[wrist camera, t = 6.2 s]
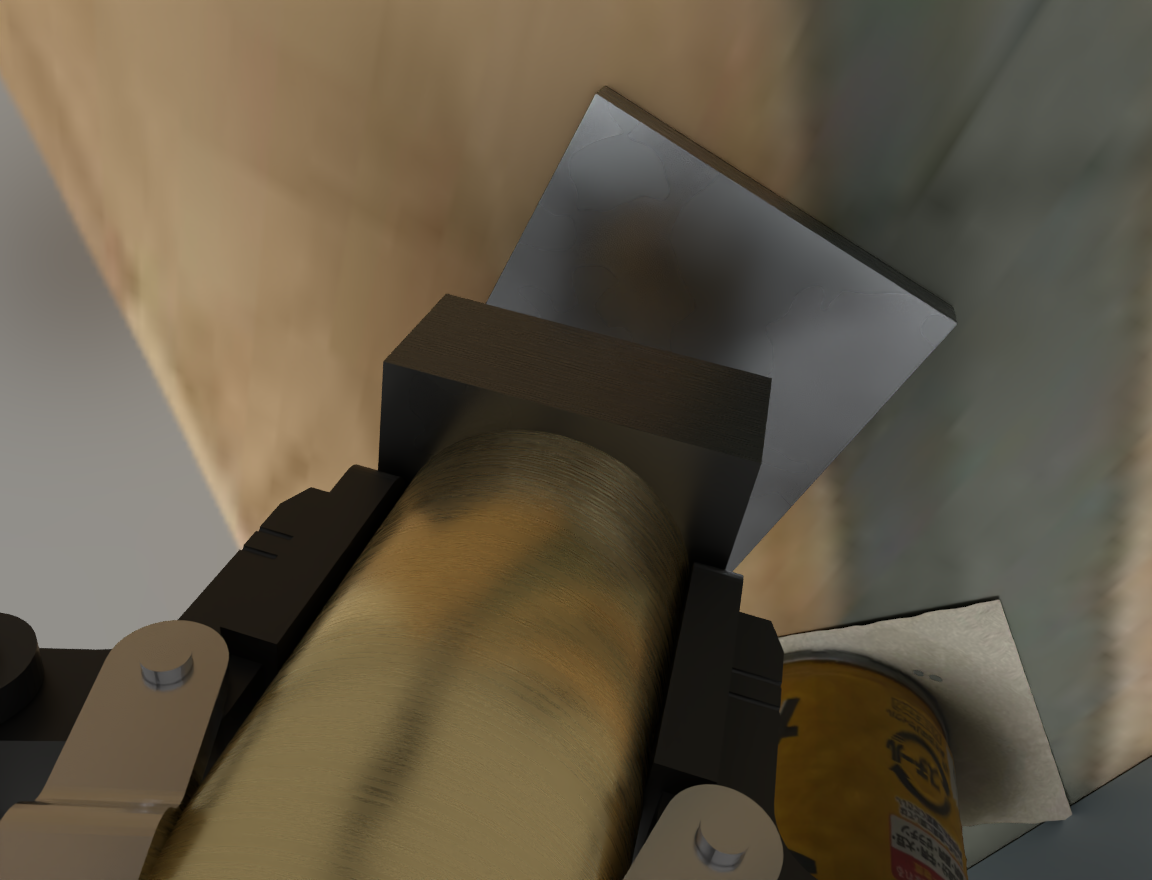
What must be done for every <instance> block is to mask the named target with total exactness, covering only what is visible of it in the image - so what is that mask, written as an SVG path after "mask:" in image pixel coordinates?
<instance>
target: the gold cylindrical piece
mask: <svg viewBox="0 0 1152 880" xmlns="http://www.w3.org/2000/svg"><path fill="white" fill-rule="evenodd" d="M771 384H772V378H769V377H765V376H761V375H758V374H754V373H750V372H746V371H742V370H738V369H734V368H731V367H727V366H723V365H719V364H715V363H711V362H707V361H704V360H700V359H696V358H692V357H688V356H684V355H681V354H677V353H673V352H669V351H665V350H661V349H657V348H654V347H650V346H646V345H642V344H638V343H634V342H630V341H627V340H623V339H619V338H615V337H611V336H607V335H603V334H600V333H596V332H592V331H588V330H584V329H580V328H576V327H573V326H569V325H565V324H561V323H557V322H553V321H550V320H546V319H542V318H538V317H534V316H530V315H526V314H523V313H519V312H515V311H511V310H507V309H503V308H499V307H496V306H492V305H488V304H484V303H480V302H476V301H472V300H469V299H465V298H461V297H457V296H453V295H449V294H445V296H444V297H443V298H442V299H441V300H440V301H439V302H438V303H437V304H436V305H435V306H434V307H433V309H432V310H431V311H430V312H429V313H428V314H427V315H426V316H425V317H424V318H423V319H422V320H421V321H420V323H419V324H418V325H417V326H416V327H415V328H414V329H413V330H412V331H411V332H410V333H409V334H408V336H407V337H406V338H405V339H404V340H403V341H402V342H401V343H400V344H399V345H398V346H397V347H396V348H395V350H394V351H393V352H392V353H391V354H390V355H389V356H388V357H387V358H386V359H385V360H384V361H383V382H382V402H381V422H380V442H379V462H378V471H381V472H385V473H389V474H392V475H396V476H399V477H402V478H403V479H404V481H405V491H404V493H403V494H402V495H401V497H400V498H399V500H398V501H397V503H396V504H395V505H394V507H393V508H392V510H391V511H390V513H389V514H388V516H387V517H386V518H385V520H384V521H383V523H382V524H381V526H380V527H379V528H378V530H377V531H376V533H375V534H374V536H373V537H372V538H371V540H370V541H369V543H368V544H367V546H366V547H365V549H364V550H363V551H362V553H361V554H360V556H359V557H358V559H357V560H356V561H355V563H354V564H353V566H352V567H351V569H350V570H349V571H348V573H347V574H346V576H345V577H344V579H343V580H342V582H341V583H340V584H339V586H338V587H337V589H336V590H335V592H334V593H333V594H332V596H331V597H330V599H329V600H328V602H327V603H326V604H325V606H324V607H323V609H322V610H321V612H320V613H319V615H318V616H317V617H316V619H315V620H314V622H313V623H312V625H311V626H310V627H309V629H308V630H307V632H306V633H305V635H304V636H303V637H302V639H301V640H300V642H299V643H298V645H297V646H296V648H295V649H294V650H293V652H292V653H291V655H290V656H289V658H288V659H287V660H286V662H285V663H284V665H283V666H282V668H281V669H280V670H279V672H278V673H277V675H276V676H275V678H274V679H273V681H272V682H271V683H270V685H269V686H268V688H267V689H266V691H265V692H264V693H263V695H262V696H261V698H260V699H259V701H258V702H257V703H256V705H255V706H254V708H253V709H252V711H251V712H250V714H249V715H248V716H247V718H246V719H245V721H244V722H243V724H242V725H241V726H240V728H239V729H238V731H237V732H236V734H235V735H234V736H233V738H232V739H231V741H230V742H229V744H228V745H227V747H226V748H225V749H224V751H223V752H222V754H221V755H220V757H219V758H218V759H217V761H216V762H215V764H214V765H213V767H212V768H211V769H210V771H209V772H208V774H207V775H206V777H205V778H204V780H203V781H202V782H201V784H200V785H199V787H198V788H197V790H196V791H195V792H194V794H193V796H192V797H191V799H190V800H189V802H188V804H187V805H186V807H185V808H184V810H183V812H182V813H181V815H180V816H179V818H178V820H177V822H176V824H175V826H174V828H173V830H172V832H171V834H170V836H169V837H168V839H167V841H166V843H165V845H164V847H163V849H162V851H161V853H160V855H159V857H158V859H157V861H156V863H155V865H154V867H153V869H152V871H151V874H150V876H149V878H148V880H623V879H624V877H625V875H626V874H627V872H628V870H629V869H630V867H631V864H632V859H633V854H634V850H635V845H636V840H637V835H638V830H639V825H640V820H641V815H642V811H643V793H644V788H645V783H646V778H647V774H648V769H649V764H650V759H651V754H652V750H653V745H654V740H655V735H656V730H657V726H658V721H659V716H660V711H661V706H662V702H663V697H664V692H665V687H666V682H667V678H668V673H669V668H670V663H671V658H672V654H673V649H674V644H675V639H676V634H677V630H678V625H679V620H680V615H681V610H682V606H683V601H684V596H685V591H686V586H687V582H688V577H689V573H690V570H691V567H692V564H693V562H694V561H695V562H699V563H702V564H706V565H709V566H713V567H716V568H720V569H723V570H725V569H726V567H727V564H728V561H729V558H730V555H731V552H732V549H733V546H734V543H735V540H736V537H737V534H738V531H739V528H740V525H741V523H742V520H743V517H744V514H745V511H746V508H747V505H748V502H749V499H750V496H751V493H752V490H753V487H754V484H755V481H756V478H757V476H758V473H759V470H760V467H761V464H762V456H763V448H764V440H765V432H766V424H767V416H768V408H769V400H770V392H771Z"/></svg>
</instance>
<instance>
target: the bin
mask: <svg viewBox="0 0 1152 880" xmlns="http://www.w3.org/2000/svg"><path fill="white" fill-rule="evenodd" d="M1070 809H1071V812H1072V815H1071V816H1070V817H1068V818H1067V819H1065V820H1056V821H1046V822H1045V823H1043V824H1041V825H1040V826H1038V827H1037V828H1035V829H1033V830H1032V831H1030V832H1028V833H1027V834H1025V835H1024V836H1022V837H1020V838H1019V839H1017V840H1015V841H1014V842H1012V843H1011V844H1009V845H1007V846H1006V847H1004V848H1002V849H1001V850H999V851H998V852H996V853H994V854H993V855H991V856H989V857H988V858H986V859H985V860H983V861H981V862H980V863H978V864H976V865H975V866H973V867H972V868H970V869H968V870H967V875H968V880H1152V757H1150V758H1149V759H1147V760H1145V761H1144V762H1142V763H1140V764H1139V765H1137V766H1136V767H1134V768H1132V769H1131V770H1129V771H1127V772H1126V773H1124V774H1123V775H1121V776H1119V777H1118V778H1116V779H1114V780H1113V781H1111V782H1110V783H1108V784H1106V785H1105V786H1103V787H1102V788H1100V789H1098V790H1097V791H1095V792H1093V793H1092V794H1090V795H1089V796H1087V797H1085V798H1084V799H1082V800H1080V801H1079V802H1077V803H1076V804H1074V805H1072V806H1071V807H1070Z"/></svg>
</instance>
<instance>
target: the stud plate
mask: <svg viewBox="0 0 1152 880" xmlns="http://www.w3.org/2000/svg"><path fill="white" fill-rule="evenodd" d="M486 304H488V305H492V306H496V307H499V308H503V309H507V310H511V311H515V312H519V313H523V314H526V315H530V316H534V317H538V318H542V319H546V320H550V321H553V322H557V323H561V324H565V325H569V326H573V327H576V328H580V329H584V330H588V331H592V332H596V333H600V334H603V335H607V336H611V337H615V338H619V339H623V340H627V341H630V342H634V343H638V344H642V345H646V346H650V347H654V348H657V349H661V350H665V351H669V352H673V353H677V354H681V355H684V356H688V357H692V358H696V359H700V360H704V361H707V362H711V363H715V364H719V365H723V366H727V367H731V368H734V369H738V370H742V371H746V372H750V373H754V374H758V375H761V376H765V377H769V378H772V384H771V392H770V400H769V408H768V416H767V424H766V432H765V440H764V448H763V456H762V464H761V467H760V470H759V473H758V476H757V478H756V481H755V484H754V487H753V490H752V493H751V496H750V499H749V502H748V505H747V508H746V511H745V514H744V517H743V520H742V523H741V525H740V528H739V531H738V534H737V537H736V540H735V543H734V546H733V549H732V552H731V555H730V558H729V561H728V564H727V567H726V569H725V570H727V571H730V572H732V571H733V570H734V569H735V568H736V567H737V566H738V565H739V564H740V563H741V562H742V560H743V559H744V558H745V557H746V556H747V555H748V554H749V553H750V552H751V551H752V549H753V548H754V547H755V546H756V545H757V544H758V543H759V542H760V541H761V539H762V538H763V537H764V536H765V535H766V534H767V533H768V532H769V531H770V530H771V528H772V527H773V526H774V525H775V524H776V523H777V522H778V521H779V520H780V519H781V517H782V516H783V515H784V514H785V513H786V512H787V511H788V510H789V509H790V508H791V506H792V505H793V504H794V503H795V502H796V501H797V500H798V499H799V498H800V497H801V495H802V494H803V493H804V492H805V491H806V490H807V489H808V488H809V487H810V486H811V484H812V483H813V482H814V481H815V480H816V479H817V478H818V477H819V476H820V475H821V473H822V472H823V471H824V470H825V469H826V468H827V467H828V466H829V465H830V463H831V462H832V461H833V460H834V459H835V458H836V457H837V456H838V455H839V454H840V452H841V451H842V450H843V449H844V448H845V447H846V446H847V445H848V444H849V443H850V441H851V440H852V439H853V438H854V437H855V436H856V435H857V434H858V433H859V432H860V430H861V429H862V428H863V427H864V426H865V425H866V424H867V423H868V422H869V421H870V419H871V418H872V417H873V416H874V415H875V414H876V413H877V412H878V411H879V410H880V408H881V407H882V406H883V405H884V404H885V403H886V402H887V401H888V400H889V399H890V397H891V396H892V395H893V394H894V393H895V392H896V391H897V390H898V389H899V387H900V386H901V385H902V384H903V383H904V382H905V381H906V380H907V379H908V378H909V376H910V375H911V374H912V373H913V372H914V371H915V370H916V369H917V368H918V367H919V365H920V364H921V363H922V362H923V361H924V360H925V359H926V358H927V357H928V356H929V354H930V353H931V352H932V351H933V350H934V349H935V348H936V347H937V346H938V345H939V343H940V342H941V341H942V340H943V339H944V338H945V337H946V336H947V335H948V334H949V332H950V331H951V330H952V329H953V328H954V327H955V326H956V325H957V320H956V316H955V312H954V308H953V307H952V306H950V305H949V304H947V303H946V302H944V301H942V300H941V299H939V298H938V297H936V296H935V295H933V294H931V293H930V292H928V291H927V290H925V289H924V288H922V287H920V286H919V285H917V284H916V283H914V282H913V281H911V280H909V279H908V278H906V277H905V276H903V275H902V274H900V273H898V272H897V271H895V270H894V269H892V268H891V267H889V266H887V265H886V264H884V263H883V262H881V261H880V260H878V259H876V258H875V257H873V256H872V255H870V254H869V253H867V252H865V251H864V250H862V249H861V248H859V247H858V246H856V245H854V244H853V243H851V242H850V241H848V240H847V239H845V238H844V237H842V236H840V235H839V234H837V233H836V232H834V231H833V230H831V229H829V228H828V227H826V226H825V225H823V224H822V223H820V222H818V221H817V220H815V219H814V218H812V217H811V216H809V215H807V214H806V213H804V212H803V211H801V210H800V209H798V208H796V207H795V206H793V205H792V204H790V203H789V202H787V201H785V200H784V199H782V198H781V197H779V196H778V195H776V194H774V193H773V192H771V191H770V190H768V189H767V188H765V187H763V186H762V185H760V184H759V183H757V182H756V181H754V180H752V179H751V178H749V177H748V176H746V175H745V174H743V173H742V172H740V171H738V170H737V169H735V168H734V167H732V166H731V165H729V164H727V163H726V162H724V161H723V160H721V159H720V158H718V157H716V156H715V155H713V154H712V153H710V152H709V151H707V150H705V149H704V148H702V147H701V146H699V145H698V144H696V143H694V142H693V141H691V140H690V139H688V138H687V137H685V136H683V135H682V134H680V133H679V132H677V131H676V130H674V129H672V128H671V127H669V126H668V125H666V124H665V123H663V122H661V121H660V120H658V119H657V118H655V117H654V116H652V115H650V114H649V113H647V112H646V111H644V110H643V109H641V108H640V107H638V106H636V105H635V104H633V103H632V102H630V101H629V100H627V99H625V98H624V97H622V96H621V95H619V94H618V93H616V92H614V91H613V90H611V89H610V88H608V87H607V86H605V87H603V88H602V89H601V90H600V91H598V92H597V93H596V94H595V96H594V98H593V100H592V102H591V104H590V106H589V108H588V110H587V112H586V114H585V115H584V117H583V119H582V121H581V123H580V125H579V127H578V129H577V131H576V133H575V135H574V136H573V138H572V140H571V142H570V144H569V146H568V148H567V150H566V152H565V154H564V156H563V157H562V159H561V161H560V163H559V165H558V167H557V169H556V171H555V173H554V175H553V177H552V178H551V180H550V182H549V184H548V186H547V188H546V190H545V192H544V194H543V196H542V198H541V199H540V201H539V203H538V205H537V207H536V209H535V211H534V213H533V215H532V217H531V219H530V221H529V222H528V224H527V226H526V228H525V230H524V232H523V234H522V236H521V238H520V240H519V242H518V243H517V245H516V247H515V249H514V251H513V253H512V255H511V257H510V259H509V261H508V263H507V264H506V266H505V268H504V270H503V272H502V274H501V276H500V278H499V280H498V282H497V284H496V285H495V287H494V289H493V291H492V293H491V295H490V297H489V299H488V301H487V303H486Z"/></svg>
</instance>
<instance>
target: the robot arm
mask: <svg viewBox="0 0 1152 880" xmlns="http://www.w3.org/2000/svg"><path fill="white" fill-rule="evenodd" d="M404 491H405V481H404V479H403V478H402V477H399V476H396V475H392V474H389V473H385V472H381V471H378V470H374V469H371V468H367V467H364V466H360V465H353V466H351V467H350V468H349V469H348V470H347V472H346V473H345V474H344V475H343V477H342V478H341V479H340V480H339V481H338V483H337V484H336V485H335V486H334V488H333V489H332V490H331V491H330V492H326V491H322V490H319V489H315V488H312V487H311V488H309V489H307V490H305V491H303V492H301V493H299V494H297V495H295V496H294V497H292V498H290V499H288V500H286V501H284V502H282V503H280V504H279V506H278V507H277V508H276V509H275V510H274V511H273V512H272V514H271V515H270V516H269V517H268V518H267V519H266V520H265V522H264V523H263V524H262V525H261V526H260V530H259V531H256V532H255V533H254V534H253V535H252V536H251V537H250V539H249V540H248V541H247V542H246V543H245V544H244V547H243V549H242V550H239V551H238V552H237V553H236V555H235V556H234V557H233V558H232V559H231V560H230V561H229V562H228V564H227V565H226V566H225V567H224V568H223V569H222V570H221V572H220V573H219V574H218V575H217V576H216V577H215V578H214V580H213V581H212V582H211V583H210V584H209V585H208V586H207V587H206V589H205V590H204V591H203V592H202V593H201V594H200V595H199V597H198V598H197V599H196V600H195V601H194V602H193V603H192V604H191V606H190V607H189V608H188V609H187V610H186V611H185V612H184V614H183V615H182V616H181V617H180V618H179V619H178V620H172V621H163V622H159V623H155V624H151V625H148V626H145V627H143V628H140V629H138V630H136V631H134V632H132V633H131V634H129V635H128V636H126V637H124V638H123V639H122V640H121V641H120V642H119V643H117V644H116V645H115V647H114V648H113V649H105V650H89V649H52V648H39V647H38V643H37V639H36V635H35V632H34V630H33V629H32V627H31V626H30V625H29V624H28V623H26V622H25V621H24V620H22V619H20V618H18V617H16V616H13V615H10V614H4V613H0V880H148V878H149V876H150V874H151V871H152V869H153V867H154V865H155V863H156V861H157V859H158V857H159V855H160V853H161V851H162V849H163V847H164V845H165V843H166V841H167V839H168V837H169V836H170V834H171V832H172V830H173V828H174V826H175V824H176V822H177V820H178V818H179V816H180V815H181V813H182V812H183V810H184V808H185V807H186V805H187V804H188V802H189V800H190V799H191V797H192V796H193V794H194V792H195V791H196V790H197V788H198V787H199V785H200V784H201V782H202V781H203V780H204V778H205V777H206V775H207V774H208V772H209V771H210V769H211V768H212V767H213V765H214V764H215V762H216V761H217V759H218V758H219V757H220V755H221V754H222V752H223V751H224V749H225V748H226V747H227V745H228V744H229V742H230V741H231V739H232V738H233V736H234V735H235V734H236V732H237V731H238V729H239V728H240V726H241V725H242V724H243V722H244V721H245V719H246V718H247V716H248V715H249V714H250V712H251V711H252V709H253V708H254V706H255V705H256V703H257V702H258V701H259V699H260V698H261V696H262V695H263V693H264V692H265V691H266V689H267V688H268V686H269V685H270V683H271V682H272V681H273V679H274V678H275V676H276V675H277V673H278V672H279V670H280V669H281V668H282V666H283V665H284V663H285V662H286V660H287V659H288V658H289V656H290V655H291V653H292V652H293V650H294V649H295V648H296V646H297V645H298V643H299V642H300V640H301V639H302V637H303V636H304V635H305V633H306V632H307V630H308V629H309V627H310V626H311V625H312V623H313V622H314V620H315V619H316V617H317V616H318V615H319V613H320V612H321V610H322V609H323V607H324V606H325V604H326V603H327V602H328V600H329V599H330V597H331V596H332V594H333V593H334V592H335V590H336V589H337V587H338V586H339V584H340V583H341V582H342V580H343V579H344V577H345V576H346V574H347V573H348V571H349V570H350V569H351V567H352V566H353V564H354V563H355V561H356V560H357V559H358V557H359V556H360V554H361V553H362V551H363V550H364V549H365V547H366V546H367V544H368V543H369V541H370V540H371V538H372V537H373V536H374V534H375V533H376V531H377V530H378V528H379V527H380V526H381V524H382V523H383V521H384V520H385V518H386V517H387V516H388V514H389V513H390V511H391V510H392V508H393V507H394V505H395V504H396V503H397V501H398V500H399V498H400V497H401V495H402V494H403V493H404ZM742 587H743V575H741V574H737V573H734V572H730V571H727V570H723V569H720V568H716V567H713V566H709V565H706V564H702V563H699V562H695V561H694V562H693V564H692V567H691V570H690V573H689V577H688V582H687V586H686V591H685V596H684V601H683V606H682V610H681V615H680V620H679V625H678V630H677V634H676V639H675V644H674V649H673V654H672V658H671V663H670V668H669V673H668V678H667V682H666V687H665V692H664V697H663V702H662V706H661V711H660V716H659V721H658V726H657V730H656V735H655V740H654V745H653V750H652V754H651V759H650V764H649V769H648V774H647V778H646V783H645V788H644V793H643V811H642V815H641V820H640V825H639V830H638V835H637V840H636V845H635V850H634V854H633V859H632V864H631V867H630V869H629V870H628V872H627V874H626V875H625V877H624V879H623V880H818V879H816V878H815V877H814V876H812V875H811V874H810V873H809V872H808V871H807V870H806V869H804V868H803V867H802V866H801V865H800V863H799V862H798V861H797V860H796V859H795V858H794V856H793V855H792V854H791V852H790V851H789V849H788V848H787V846H786V845H785V843H784V841H783V839H782V837H781V835H780V832H779V830H778V827H777V824H776V819H775V813H774V799H775V784H776V768H777V753H778V738H779V722H780V713H779V710H780V707H781V691H782V688H781V684H782V676H783V660H784V650H783V648H782V646H781V643H780V641H779V639H778V636H777V634H776V631H775V629H774V627H773V624H772V622H771V621H769V620H766V619H762V618H759V617H755V616H752V615H749V614H745V613H742V612H739V610H740V602H741V595H742Z"/></svg>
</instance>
